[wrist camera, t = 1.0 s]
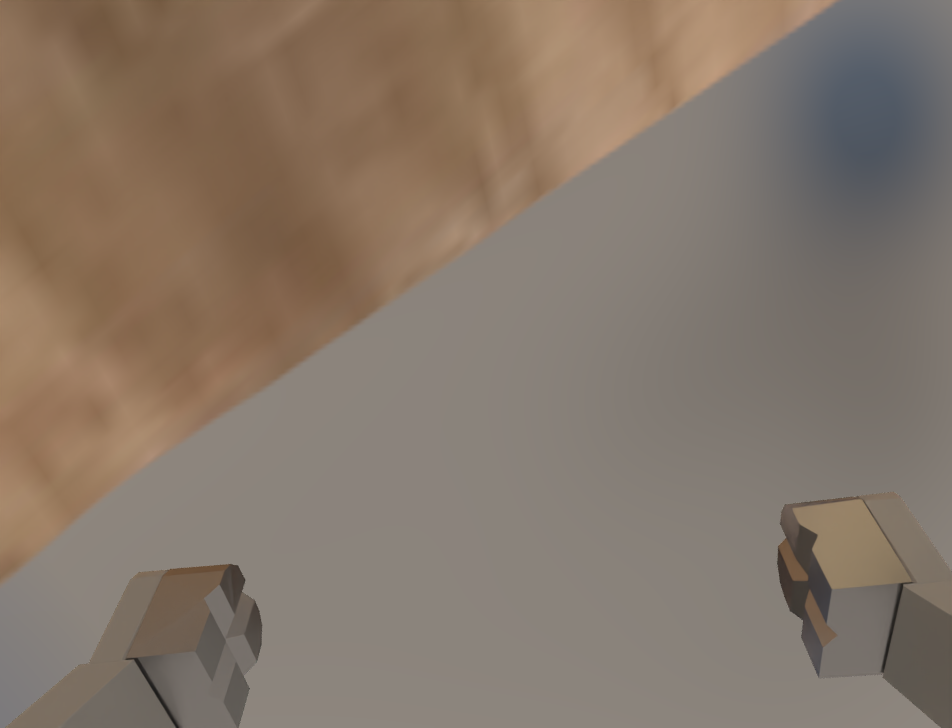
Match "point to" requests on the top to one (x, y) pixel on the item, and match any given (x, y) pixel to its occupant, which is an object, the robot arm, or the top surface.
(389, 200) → the top surface
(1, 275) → the top surface
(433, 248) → the top surface
